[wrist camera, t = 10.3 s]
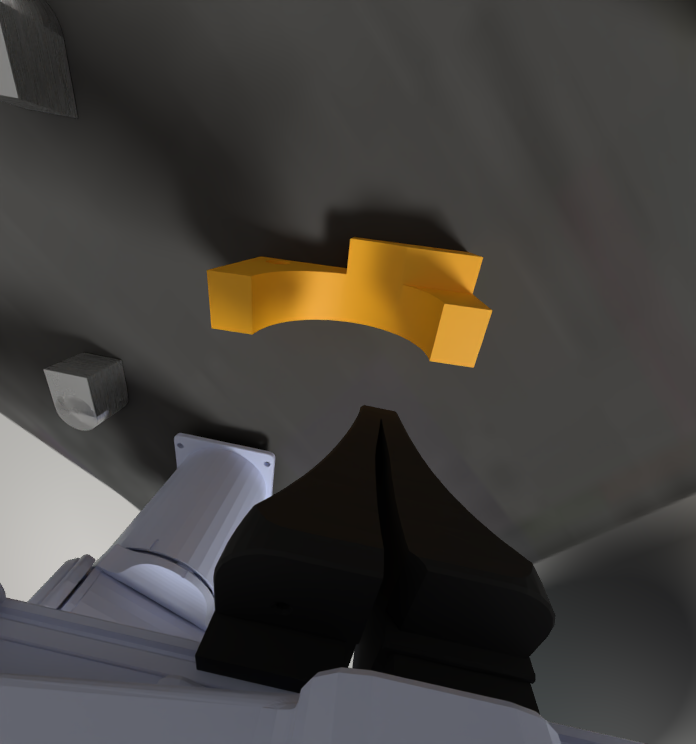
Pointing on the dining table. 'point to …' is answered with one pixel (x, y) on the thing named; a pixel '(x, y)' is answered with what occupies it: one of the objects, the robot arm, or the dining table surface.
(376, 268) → the pipe clamp
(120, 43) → the dining table surface
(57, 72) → the chain ends
